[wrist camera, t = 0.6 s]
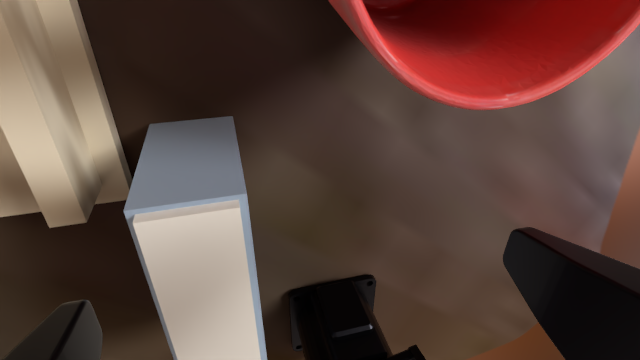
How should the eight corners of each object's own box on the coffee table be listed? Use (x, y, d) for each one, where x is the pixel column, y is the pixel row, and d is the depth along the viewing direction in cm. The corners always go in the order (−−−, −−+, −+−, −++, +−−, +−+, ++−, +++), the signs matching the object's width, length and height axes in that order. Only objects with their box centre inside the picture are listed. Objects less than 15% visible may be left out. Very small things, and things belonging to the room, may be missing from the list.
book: (252, 270, 25) (270, 384, 19) (190, 282, 24) (185, 406, 18) (232, 115, 19) (248, 201, 13) (149, 123, 18) (120, 220, 12)
